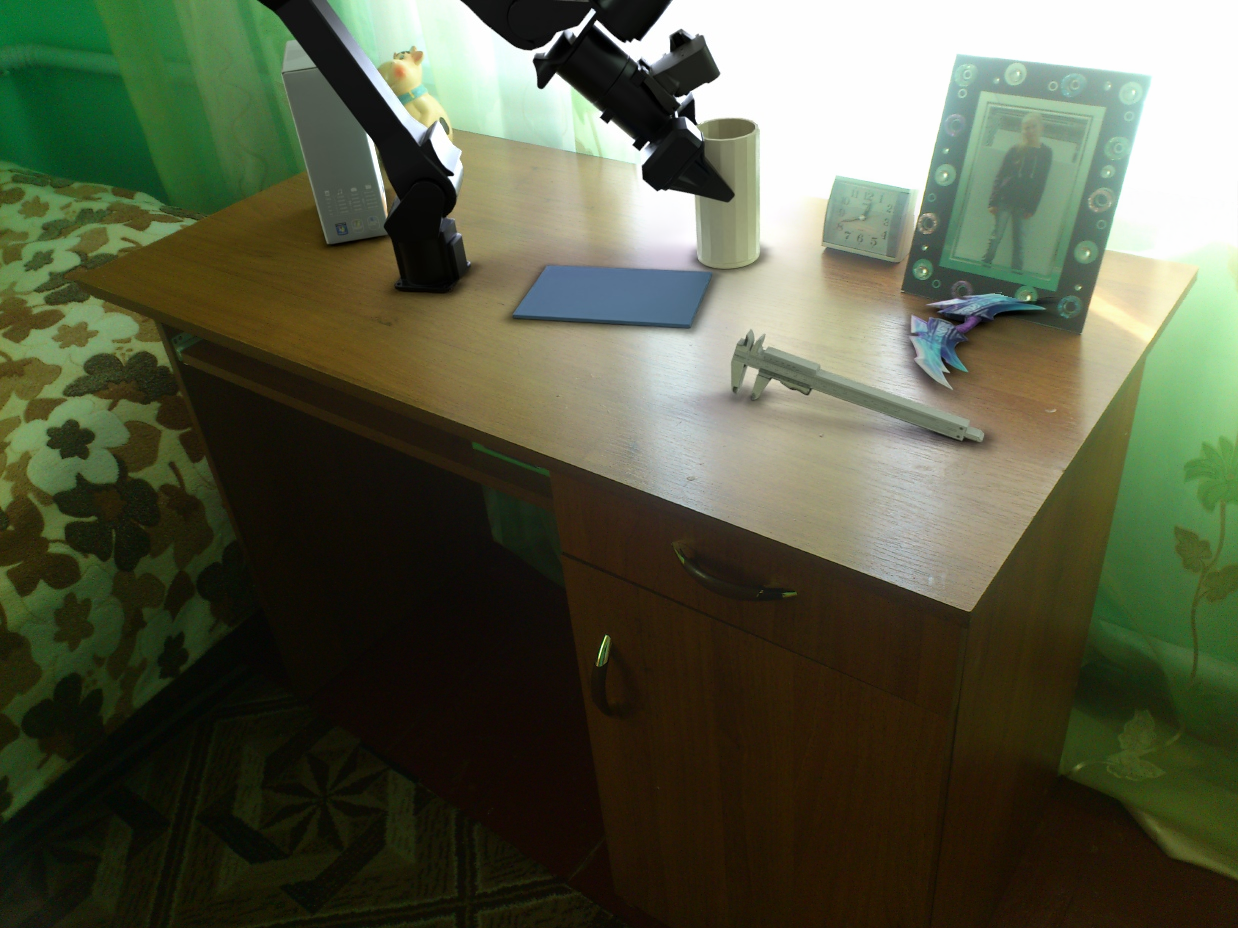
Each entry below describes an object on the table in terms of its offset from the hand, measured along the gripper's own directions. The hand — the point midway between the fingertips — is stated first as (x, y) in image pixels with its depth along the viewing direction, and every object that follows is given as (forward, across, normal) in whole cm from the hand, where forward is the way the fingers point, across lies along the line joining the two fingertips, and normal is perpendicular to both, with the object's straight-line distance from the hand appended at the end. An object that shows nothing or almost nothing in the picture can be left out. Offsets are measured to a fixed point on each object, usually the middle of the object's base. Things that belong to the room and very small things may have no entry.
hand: (727, 181), depth 100 cm
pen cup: (+6, -1, +6) cm, 8 cm away
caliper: (+10, -32, +1) cm, 34 cm away
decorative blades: (+19, -20, -8) cm, 29 cm away
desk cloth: (-3, -8, +14) cm, 17 cm away
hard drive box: (-25, +19, +37) cm, 49 cm away
